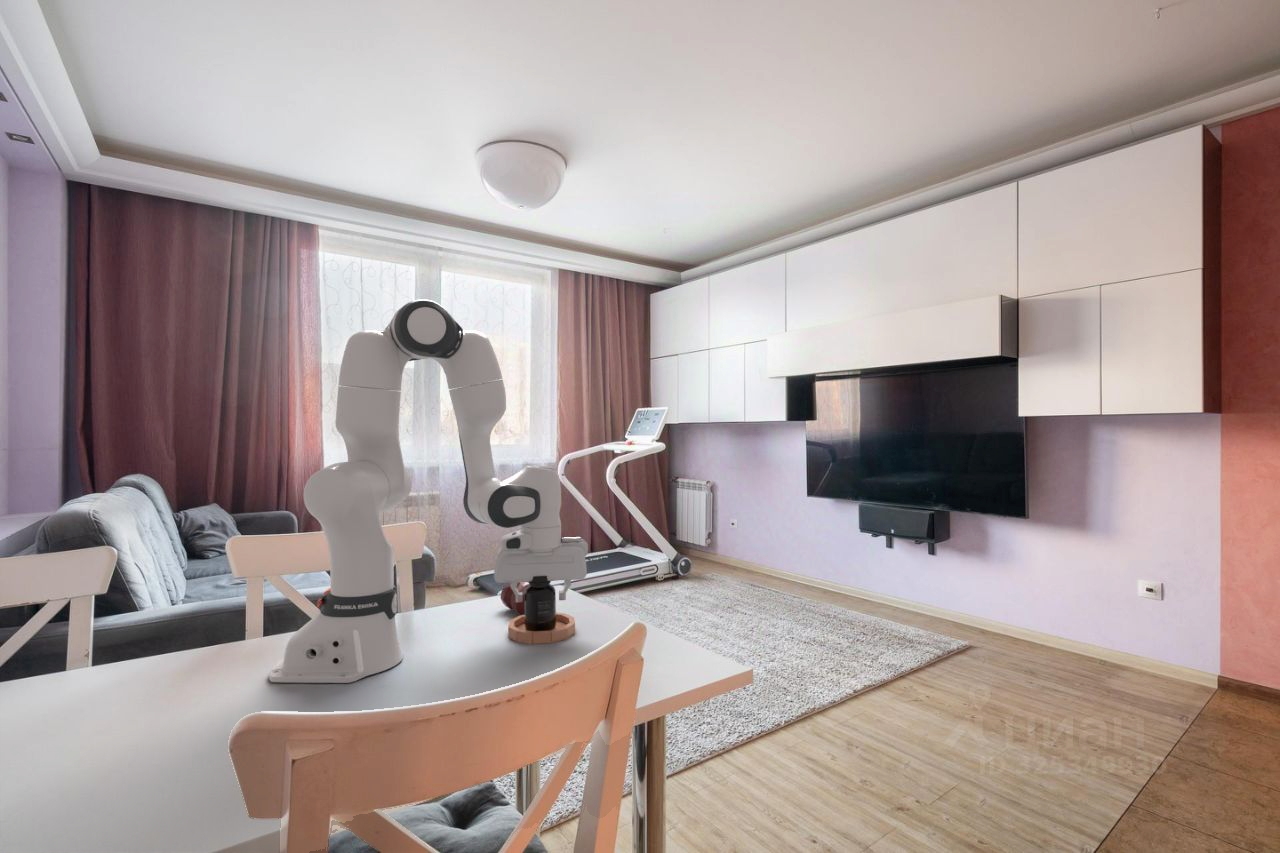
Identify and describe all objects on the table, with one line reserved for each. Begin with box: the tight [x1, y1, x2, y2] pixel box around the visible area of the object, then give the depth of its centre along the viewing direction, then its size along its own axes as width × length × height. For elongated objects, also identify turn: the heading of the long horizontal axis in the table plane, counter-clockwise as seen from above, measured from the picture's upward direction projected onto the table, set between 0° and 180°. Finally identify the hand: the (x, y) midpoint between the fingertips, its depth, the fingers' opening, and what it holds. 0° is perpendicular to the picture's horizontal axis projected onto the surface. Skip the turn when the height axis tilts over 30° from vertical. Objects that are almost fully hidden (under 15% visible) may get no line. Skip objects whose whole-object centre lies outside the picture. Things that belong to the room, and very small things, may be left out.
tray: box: [507, 612, 576, 645], centre depth 133 cm, size 14×14×2 cm
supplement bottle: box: [524, 576, 557, 631], centre depth 133 cm, size 7×7×12 cm
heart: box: [500, 582, 530, 616], centre depth 149 cm, size 12×8×10 cm
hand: (540, 600), depth 133 cm, fingers open, 8 cm apart
